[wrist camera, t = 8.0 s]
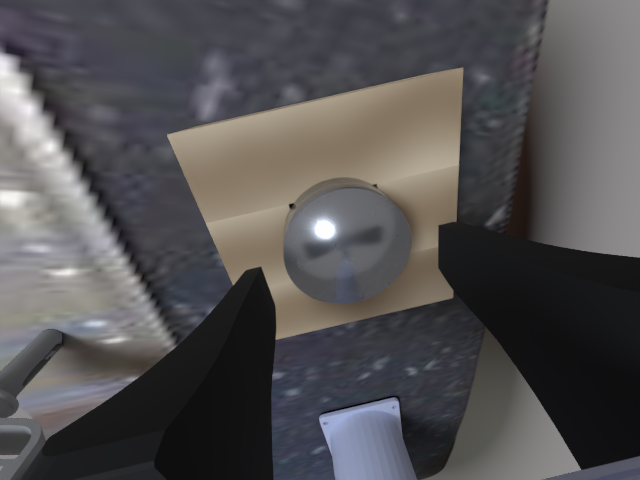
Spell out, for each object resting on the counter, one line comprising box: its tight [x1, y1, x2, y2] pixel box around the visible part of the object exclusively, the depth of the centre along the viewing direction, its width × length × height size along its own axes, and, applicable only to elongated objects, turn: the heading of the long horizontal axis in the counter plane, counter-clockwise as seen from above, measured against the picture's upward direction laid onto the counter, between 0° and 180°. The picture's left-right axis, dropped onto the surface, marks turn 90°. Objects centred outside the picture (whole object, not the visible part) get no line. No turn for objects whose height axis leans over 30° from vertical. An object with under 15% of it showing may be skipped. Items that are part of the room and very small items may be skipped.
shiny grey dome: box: [283, 177, 412, 304], centre depth 14 cm, size 6×6×6 cm
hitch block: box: [167, 67, 463, 340], centre depth 15 cm, size 12×12×4 cm
